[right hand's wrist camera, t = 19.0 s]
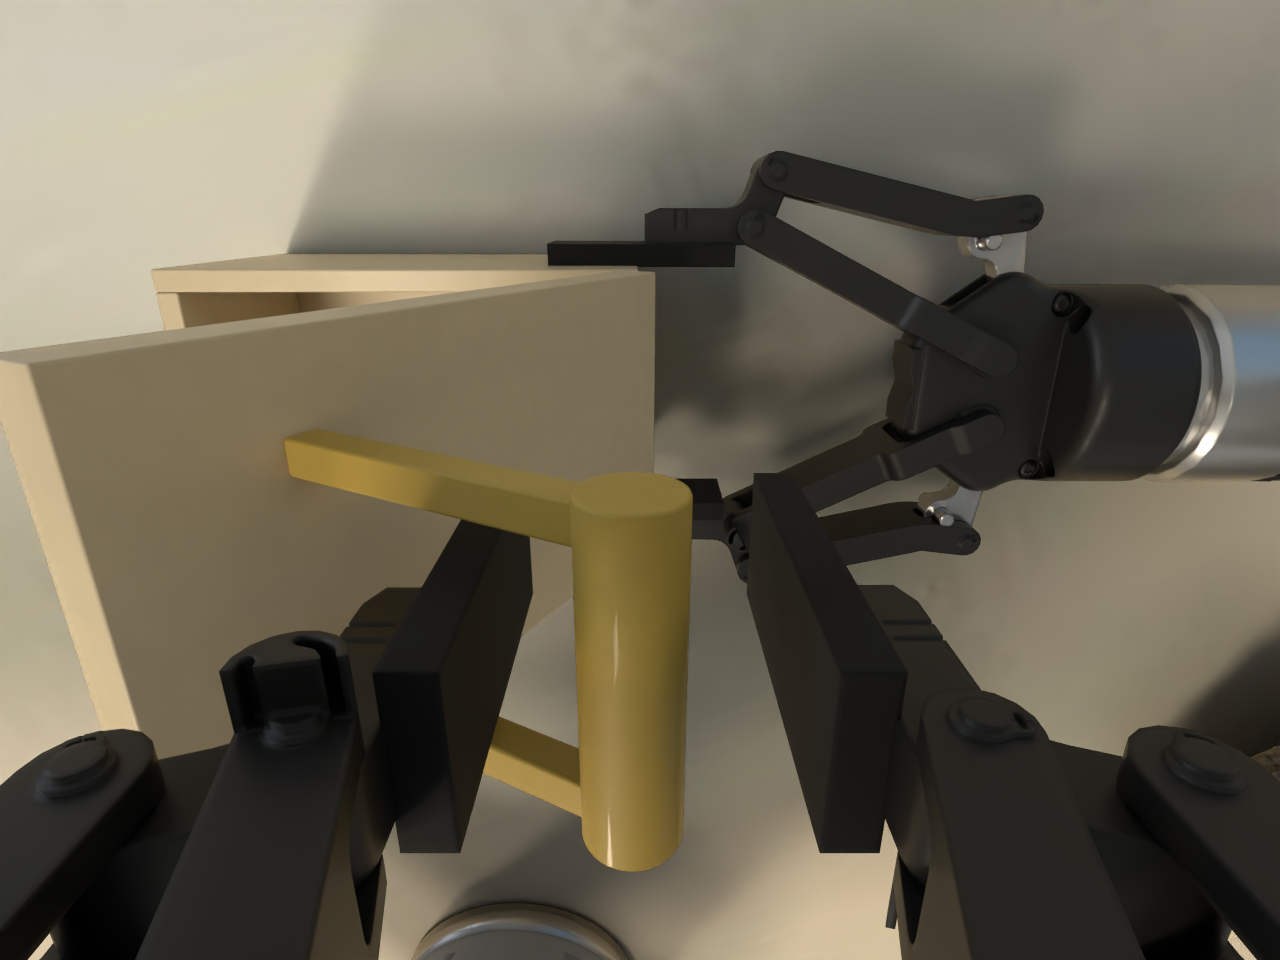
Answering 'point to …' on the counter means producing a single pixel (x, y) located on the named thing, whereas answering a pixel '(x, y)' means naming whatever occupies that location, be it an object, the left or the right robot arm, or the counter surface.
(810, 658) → the right robot arm
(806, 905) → the counter surface
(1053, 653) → the counter surface
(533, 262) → the chest
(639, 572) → the lid
